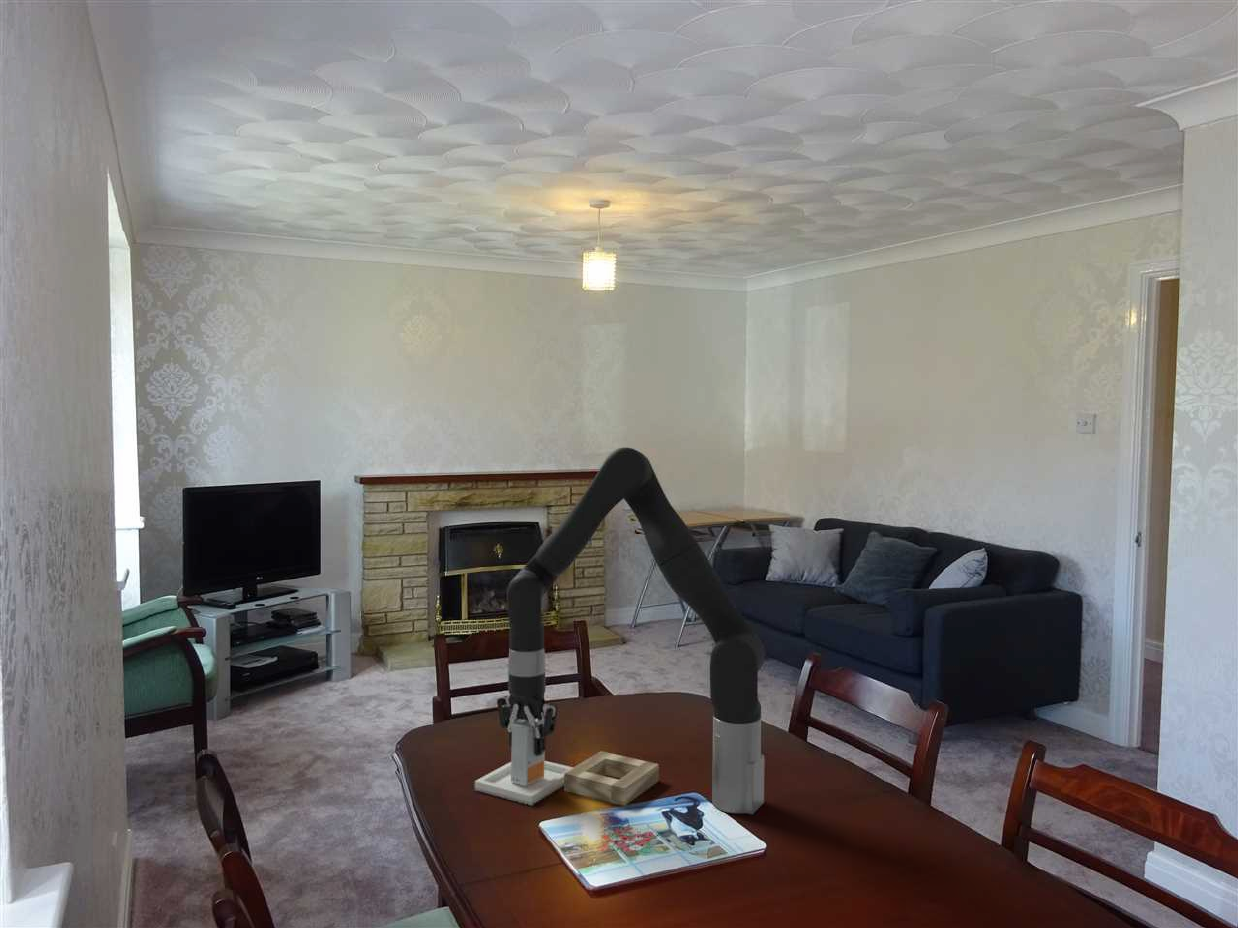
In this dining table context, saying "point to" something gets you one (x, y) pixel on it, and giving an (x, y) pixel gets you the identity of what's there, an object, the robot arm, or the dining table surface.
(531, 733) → the skincare box
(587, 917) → the dining table surface
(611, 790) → the frame
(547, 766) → the grey tray
